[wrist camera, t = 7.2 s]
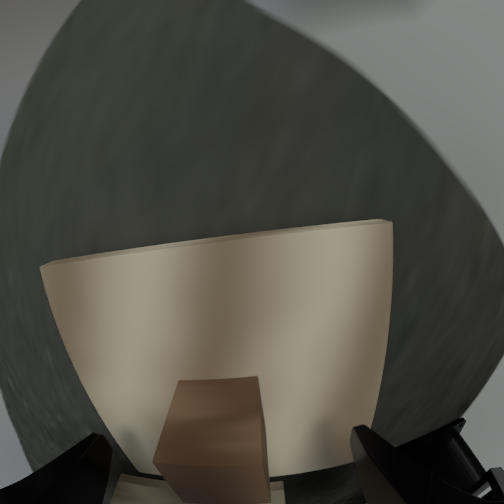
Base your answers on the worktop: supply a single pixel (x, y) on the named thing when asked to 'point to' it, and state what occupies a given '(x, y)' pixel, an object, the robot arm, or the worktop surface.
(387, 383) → the worktop surface
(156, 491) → the box
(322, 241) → the lid
